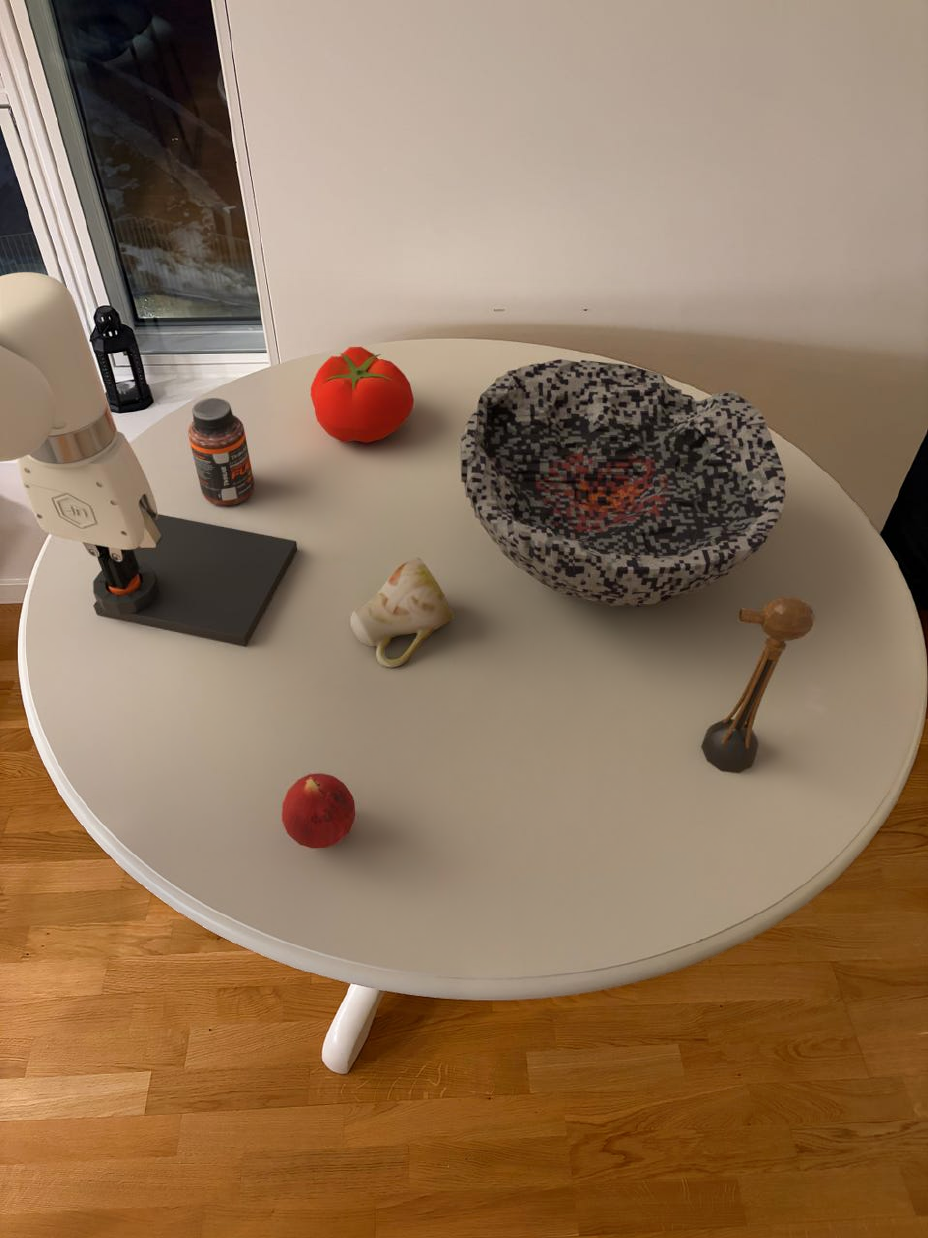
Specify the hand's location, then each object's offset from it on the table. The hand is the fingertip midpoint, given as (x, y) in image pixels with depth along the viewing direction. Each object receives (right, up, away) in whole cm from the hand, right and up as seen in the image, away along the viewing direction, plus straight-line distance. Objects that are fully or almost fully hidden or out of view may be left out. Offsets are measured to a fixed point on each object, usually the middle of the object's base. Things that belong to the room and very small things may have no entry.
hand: (124, 577), depth 89 cm
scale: (+6, 0, +5) cm, 8 cm away
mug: (+27, -5, +1) cm, 28 cm away
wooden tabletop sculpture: (+57, -16, -7) cm, 60 cm away
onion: (+22, -22, -14) cm, 34 cm away
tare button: (0, -1, +1) cm, 2 cm away
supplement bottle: (+7, +11, +14) cm, 19 cm away
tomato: (+21, +20, +23) cm, 37 cm away
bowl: (+49, +3, +9) cm, 49 cm away
